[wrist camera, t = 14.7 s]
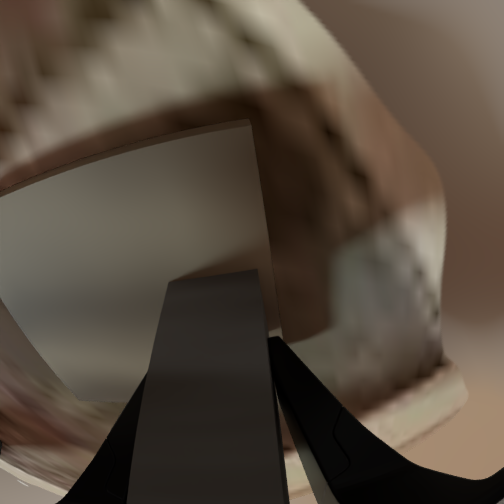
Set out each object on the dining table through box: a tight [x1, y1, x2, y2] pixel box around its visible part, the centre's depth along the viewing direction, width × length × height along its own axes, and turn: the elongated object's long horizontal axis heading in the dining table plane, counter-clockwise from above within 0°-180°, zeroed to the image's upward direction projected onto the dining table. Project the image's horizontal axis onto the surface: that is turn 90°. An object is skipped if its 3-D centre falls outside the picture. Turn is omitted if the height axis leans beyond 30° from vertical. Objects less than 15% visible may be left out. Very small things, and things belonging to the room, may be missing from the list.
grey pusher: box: [0, 118, 290, 504], centre depth 8 cm, size 12×12×10 cm
